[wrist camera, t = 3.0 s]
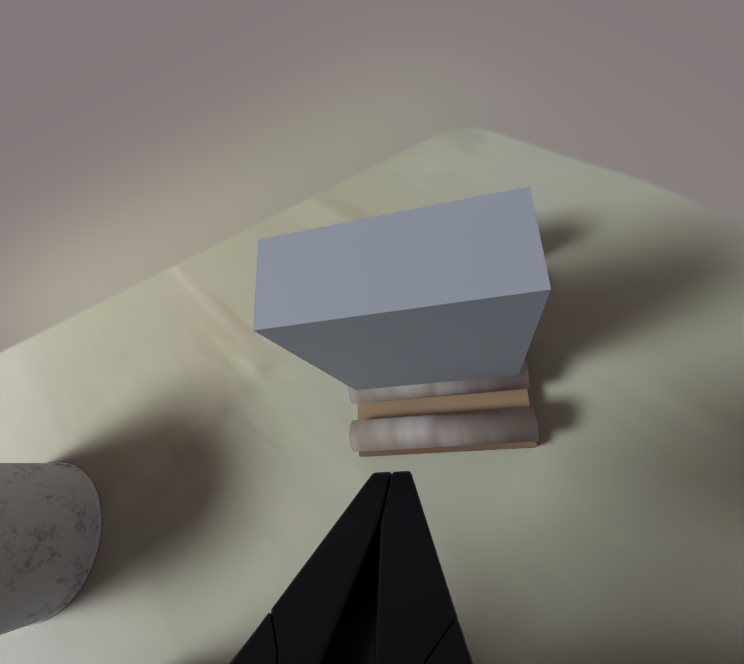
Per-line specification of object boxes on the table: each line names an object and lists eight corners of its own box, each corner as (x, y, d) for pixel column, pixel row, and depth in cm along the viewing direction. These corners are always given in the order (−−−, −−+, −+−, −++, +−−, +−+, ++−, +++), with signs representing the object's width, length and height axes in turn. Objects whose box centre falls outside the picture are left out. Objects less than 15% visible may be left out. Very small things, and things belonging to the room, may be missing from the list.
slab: (518, 374, 19) (551, 289, 10) (355, 390, 21) (253, 330, 11) (508, 315, 20) (529, 186, 11) (354, 335, 22) (258, 239, 12)
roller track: (534, 447, 20) (549, 442, 16) (364, 456, 22) (333, 454, 18) (502, 256, 24) (506, 206, 19) (358, 279, 26) (331, 239, 21)
